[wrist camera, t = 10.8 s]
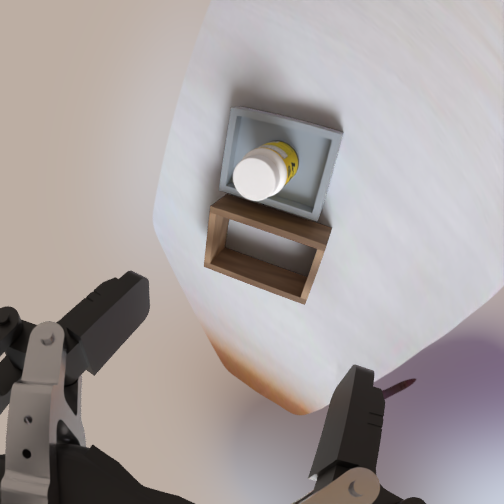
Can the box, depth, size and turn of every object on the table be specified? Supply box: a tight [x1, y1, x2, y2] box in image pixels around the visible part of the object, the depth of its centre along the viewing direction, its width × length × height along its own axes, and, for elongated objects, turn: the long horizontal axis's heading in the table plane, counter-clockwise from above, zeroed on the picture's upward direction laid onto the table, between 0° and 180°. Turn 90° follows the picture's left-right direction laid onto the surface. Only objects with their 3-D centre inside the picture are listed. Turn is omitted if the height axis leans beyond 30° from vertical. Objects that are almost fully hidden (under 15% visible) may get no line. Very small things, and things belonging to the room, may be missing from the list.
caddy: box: [204, 194, 332, 305], centre depth 37 cm, size 9×14×4 cm, turn 79°
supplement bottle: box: [233, 140, 300, 201], centre depth 30 cm, size 5×5×8 cm
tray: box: [219, 106, 344, 222], centre depth 33 cm, size 10×12×2 cm
